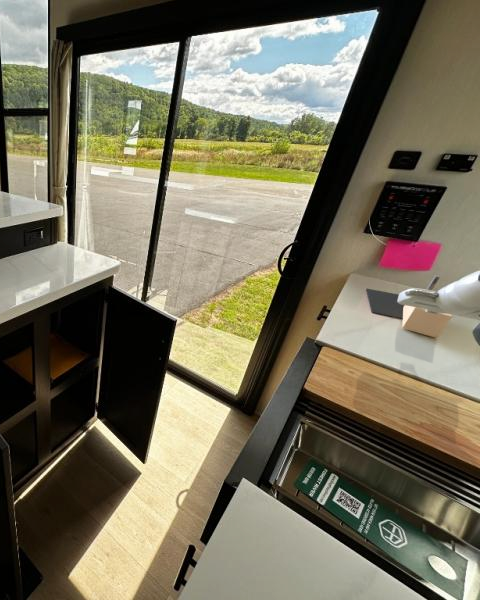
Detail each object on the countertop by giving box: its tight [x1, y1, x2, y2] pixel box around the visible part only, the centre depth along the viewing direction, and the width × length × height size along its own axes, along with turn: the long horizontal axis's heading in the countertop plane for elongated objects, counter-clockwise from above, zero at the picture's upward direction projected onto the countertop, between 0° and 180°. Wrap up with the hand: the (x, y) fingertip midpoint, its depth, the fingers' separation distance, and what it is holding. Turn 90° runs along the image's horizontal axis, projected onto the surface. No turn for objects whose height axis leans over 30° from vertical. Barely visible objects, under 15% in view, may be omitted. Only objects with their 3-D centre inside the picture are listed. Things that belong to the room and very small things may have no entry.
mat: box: [365, 288, 405, 321], centre depth 120 cm, size 14×20×1 cm
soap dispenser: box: [401, 274, 453, 339], centre depth 109 cm, size 13×9×22 cm
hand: (431, 310), depth 99 cm, fingers closed
